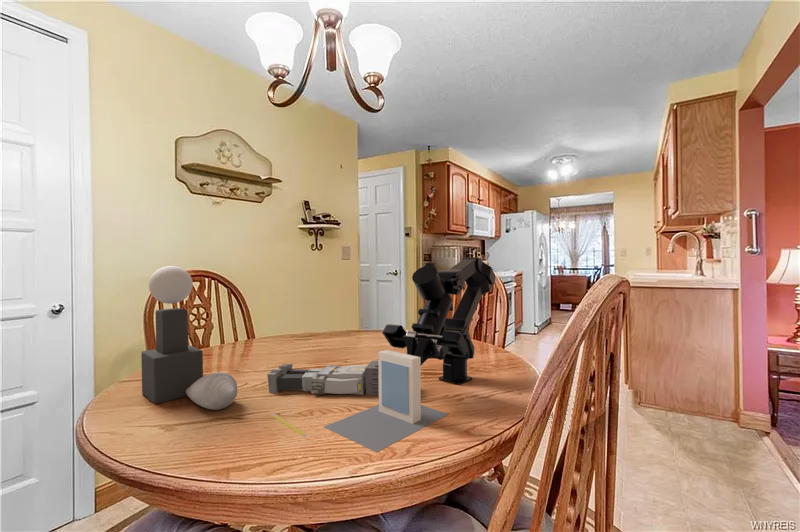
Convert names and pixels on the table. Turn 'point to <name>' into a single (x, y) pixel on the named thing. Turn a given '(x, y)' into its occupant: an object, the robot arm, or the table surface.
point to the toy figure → (327, 379)
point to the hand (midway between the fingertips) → (409, 373)
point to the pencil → (289, 425)
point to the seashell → (213, 391)
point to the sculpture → (170, 341)
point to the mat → (381, 427)
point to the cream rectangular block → (400, 385)
